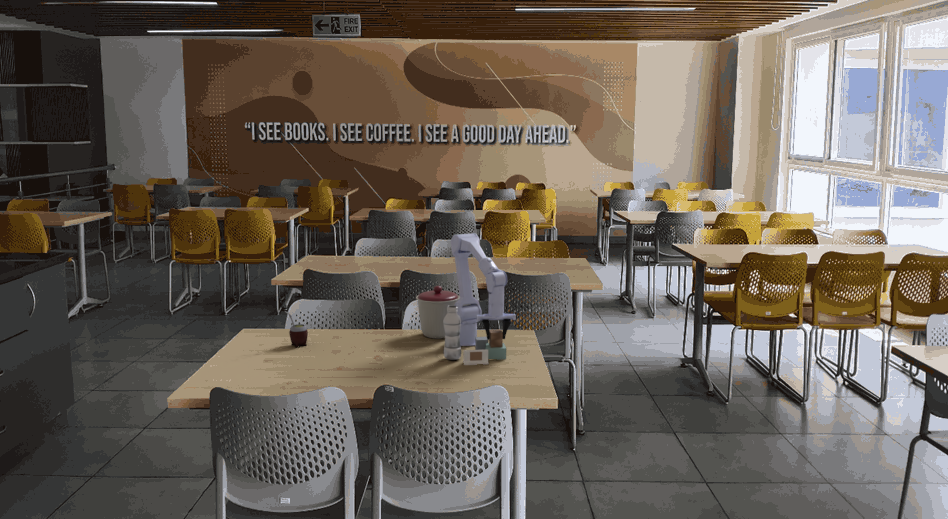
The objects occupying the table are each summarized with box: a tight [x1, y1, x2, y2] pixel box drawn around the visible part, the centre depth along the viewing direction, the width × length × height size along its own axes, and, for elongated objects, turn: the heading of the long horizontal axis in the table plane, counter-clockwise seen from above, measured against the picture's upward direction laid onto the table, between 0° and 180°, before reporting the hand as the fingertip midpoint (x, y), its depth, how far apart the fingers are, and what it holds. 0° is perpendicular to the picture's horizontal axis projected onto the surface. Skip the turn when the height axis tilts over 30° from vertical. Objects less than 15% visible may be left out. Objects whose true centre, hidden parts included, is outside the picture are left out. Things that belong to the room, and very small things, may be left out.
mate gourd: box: [284, 310, 309, 349], centre depth 280 cm, size 8×8×15 cm
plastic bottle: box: [443, 306, 463, 361], centre depth 263 cm, size 6×7×20 cm
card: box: [462, 349, 489, 366], centre depth 259 cm, size 9×3×5 cm, turn 97°
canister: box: [415, 285, 460, 339], centre depth 295 cm, size 18×18×21 cm
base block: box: [486, 342, 507, 360], centre depth 267 cm, size 7×7×4 cm
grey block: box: [474, 336, 489, 350], centre depth 273 cm, size 4×4×6 cm
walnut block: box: [488, 329, 504, 348], centre depth 267 cm, size 4×4×6 cm
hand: (495, 338), depth 267 cm, fingers open, 5 cm apart
